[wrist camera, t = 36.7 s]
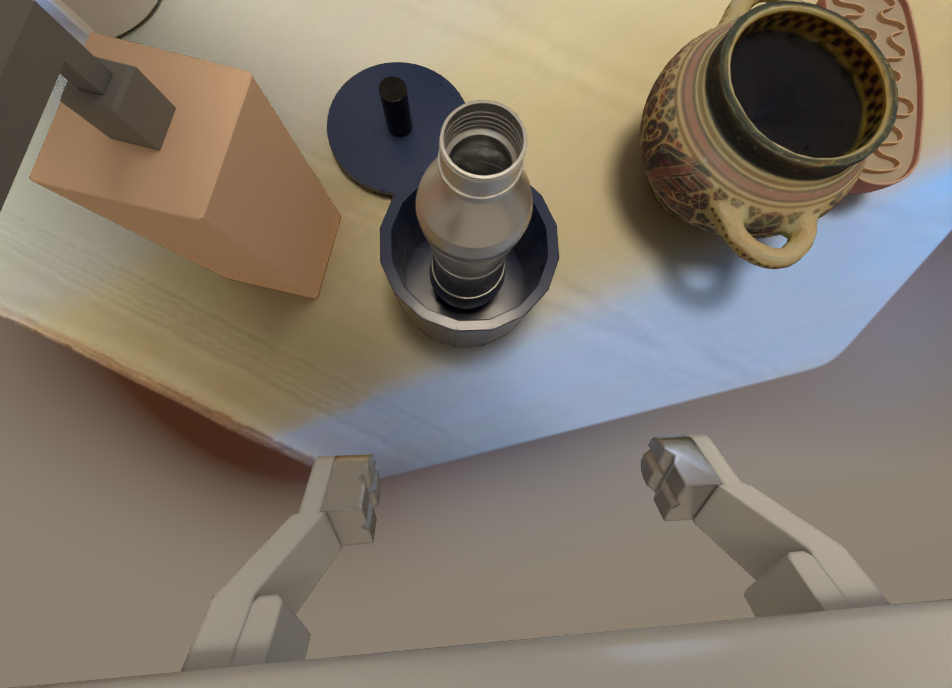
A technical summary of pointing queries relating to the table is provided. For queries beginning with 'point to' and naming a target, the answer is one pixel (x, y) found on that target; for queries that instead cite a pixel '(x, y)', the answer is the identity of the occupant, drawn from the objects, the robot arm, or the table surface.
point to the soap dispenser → (164, 151)
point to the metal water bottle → (475, 201)
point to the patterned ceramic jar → (766, 124)
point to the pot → (410, 281)
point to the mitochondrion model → (893, 30)
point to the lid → (389, 123)
